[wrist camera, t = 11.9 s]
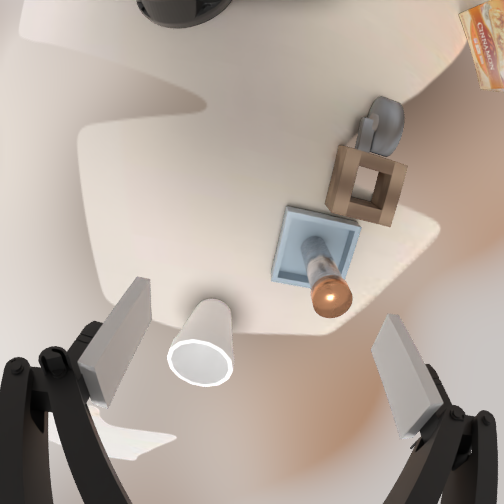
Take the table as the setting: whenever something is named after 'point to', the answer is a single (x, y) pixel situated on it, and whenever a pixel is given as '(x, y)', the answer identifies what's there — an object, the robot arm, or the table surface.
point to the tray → (302, 227)
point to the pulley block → (370, 166)
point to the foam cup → (204, 345)
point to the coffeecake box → (486, 42)
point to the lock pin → (325, 279)
